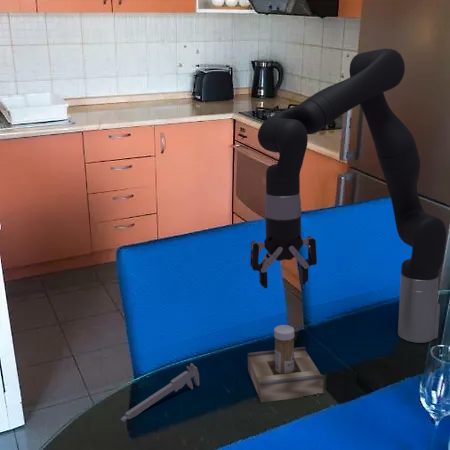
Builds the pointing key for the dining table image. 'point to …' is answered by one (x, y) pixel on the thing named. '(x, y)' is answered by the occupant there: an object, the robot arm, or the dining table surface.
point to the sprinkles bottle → (284, 349)
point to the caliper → (166, 391)
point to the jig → (284, 376)
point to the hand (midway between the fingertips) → (283, 285)
